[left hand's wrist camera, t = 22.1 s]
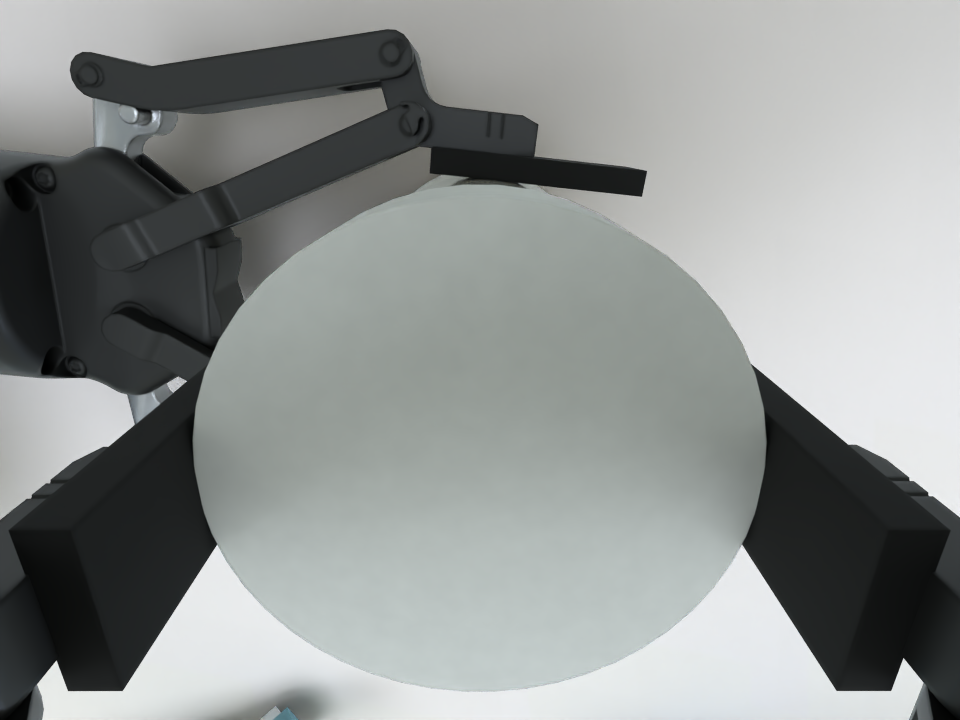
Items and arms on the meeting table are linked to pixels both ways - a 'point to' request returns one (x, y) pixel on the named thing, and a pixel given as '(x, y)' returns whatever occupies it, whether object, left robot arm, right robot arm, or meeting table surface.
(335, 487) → the lid
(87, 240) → the right robot arm
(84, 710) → the meeting table surface
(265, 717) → the toy gun
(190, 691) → the meeting table surface
